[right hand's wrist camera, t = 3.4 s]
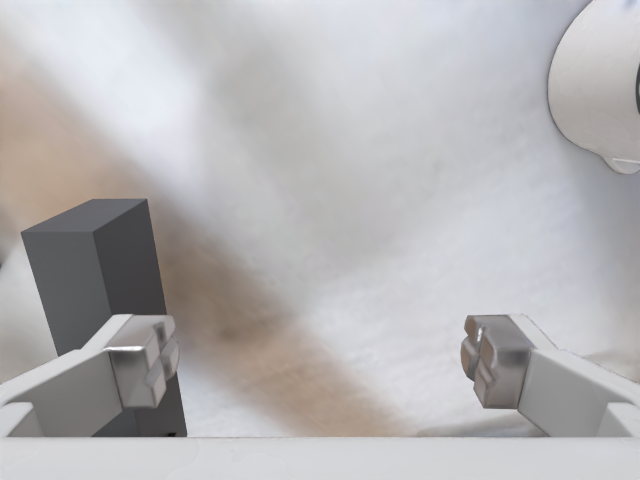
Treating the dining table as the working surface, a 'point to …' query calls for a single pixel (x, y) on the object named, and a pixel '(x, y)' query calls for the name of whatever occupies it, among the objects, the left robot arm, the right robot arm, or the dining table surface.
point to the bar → (103, 290)
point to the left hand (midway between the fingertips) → (148, 439)
